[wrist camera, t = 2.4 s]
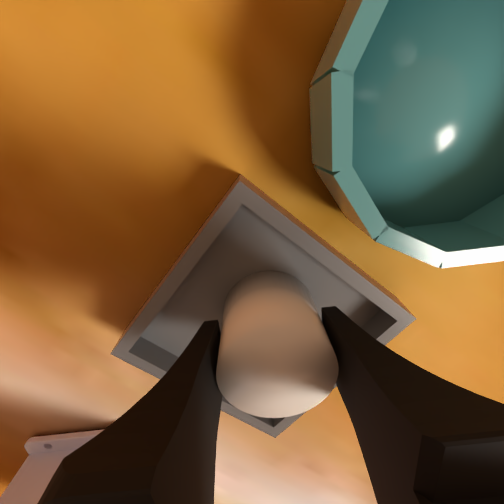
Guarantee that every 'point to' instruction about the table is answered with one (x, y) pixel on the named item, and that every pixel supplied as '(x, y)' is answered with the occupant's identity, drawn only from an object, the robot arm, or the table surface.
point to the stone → (274, 348)
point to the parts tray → (240, 266)
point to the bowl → (416, 126)
